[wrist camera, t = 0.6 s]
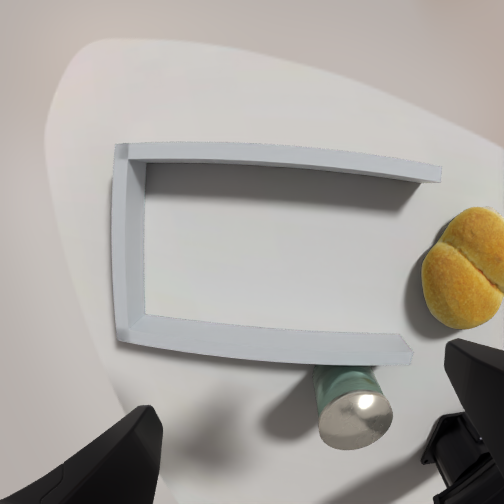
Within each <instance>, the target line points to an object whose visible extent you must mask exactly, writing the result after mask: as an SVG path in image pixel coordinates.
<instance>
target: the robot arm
mask: <svg viewBox="0 0 504 504" xmlns="http://www.w3.org/2000/svg"><path fill="white" fill-rule="evenodd" d="M444 368H445V371H446V373H447V375H448V377H449V379H450V382H451V384H452V386H453V388H454V390H455V392H456V394H457V396H458V398H459V400H460V402H461V404H462V406H463V408H464V410H465V412H460V413H454V414H447V415H444V416H442V417H441V419H440V421H439V423H438V425H437V428H436V430H435V432H434V434H433V436H432V438H431V440H430V442H429V444H428V446H427V448H426V450H425V452H424V454H423V456H422V458H421V463H422V464H423V465H425V464H430V463H435V464H436V466H437V468H438V470H439V472H440V474H441V476H442V479H443V481H444V483H445V485H446V487H447V489H445V490H444V491H443V492H441V493H440V494H437V495H435V496H434V497H433V501H434V504H504V351H503V350H499V349H496V348H492V347H488V346H485V345H481V344H477V343H474V342H470V341H467V340H463V339H459V338H457V339H454V340H452V341H449V342H447V344H446V347H445V360H444ZM162 437H163V426H162V423H161V421H160V419H159V417H158V416H157V414H156V412H155V410H154V408H153V407H152V406H151V405H141V406H138V407H136V408H135V409H134V410H133V411H131V412H130V413H129V414H128V415H126V416H125V417H124V418H122V419H121V420H120V421H118V422H117V423H116V424H115V425H113V426H112V427H111V428H109V429H108V430H107V431H105V432H104V433H103V434H101V435H100V436H99V437H97V438H96V439H95V440H93V441H92V442H91V443H89V444H88V445H87V446H85V447H84V448H83V449H81V450H80V451H79V452H77V453H76V454H75V455H73V456H72V457H70V458H69V459H68V460H66V461H65V462H64V464H61V465H59V466H58V467H57V468H55V469H54V470H52V471H51V472H49V473H48V474H46V475H45V476H43V477H42V478H40V479H38V480H37V481H35V482H33V483H32V484H30V485H28V486H27V487H25V488H23V489H21V490H19V491H17V492H15V493H14V494H12V495H10V496H8V497H6V498H4V499H1V500H0V504H153V500H154V495H155V490H156V485H157V480H158V475H159V470H160V460H161V448H162Z"/></svg>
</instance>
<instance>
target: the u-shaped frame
mask: <svg viewBox="0 0 504 504" xmlns="http://www.w3.org/2000/svg"><path fill="white" fill-rule="evenodd" d="M147 163H215V164H241V165H260V166H275V167H289V168H302V169H313V170H324V171H334V172H343V173H352V174H360V175H368V176H376V177H384V178H391V179H398V180H404V181H411V182H417V183H441V175H442V166H438V165H433V164H427V163H422V162H416V161H411V160H405V159H399V158H393V157H386V156H380V155H373V154H365V153H358V152H350V151H341V150H333V149H323V148H313V147H302V146H289V145H275V144H258V143H235V142H144V143H122V144H115V152H114V166H113V184H112V223H111V239H112V277H113V296H114V310H115V322H116V333H117V340H118V341H123V342H128V343H133V344H139V345H144V346H150V347H156V348H162V349H168V350H175V351H182V352H189V353H196V354H204V355H212V356H220V357H229V358H238V359H248V360H259V361H271V362H285V363H301V364H323V365H410V364H411V360H412V357H413V353H414V352H413V350H412V349H411V348H410V346H409V345H408V344H407V343H406V341H405V340H404V339H403V337H402V336H401V335H400V334H370V333H340V332H319V331H302V330H287V329H274V328H261V327H250V326H239V325H229V324H219V323H210V322H201V321H193V320H185V319H177V318H169V317H162V316H154V315H148V314H145V294H144V206H145V182H146V165H147Z"/></svg>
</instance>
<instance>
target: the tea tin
mask: <svg viewBox="0 0 504 504" xmlns="http://www.w3.org/2000/svg"><path fill="white" fill-rule="evenodd" d="M313 382H314V389H315V395H316V402H317V409H318V415H319V420H318V427H319V433H320V437H321V439H322V440H323V441H324V442H325V443H326V444H327V445H328V446H330V447H332V448H335V449H339V450H354V449H359V448H363V447H365V446H368V445H370V444H372V443H374V442H375V441H377V440H378V439H379V438H381V437H382V436H383V435H384V434H385V433H386V431H387V430H388V428H389V427H390V425H391V422H392V418H393V412H392V408H391V406H390V404H389V402H388V400H387V399H386V397H385V396H384V395H383V393H382V391H381V388H380V386H379V384H378V382H377V380H376V378H375V376H374V374H373V371H372V369H371V367H370V365H323V364H316V366H315V368H314V371H313Z"/></svg>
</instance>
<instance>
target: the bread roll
mask: <svg viewBox="0 0 504 504" xmlns="http://www.w3.org/2000/svg"><path fill="white" fill-rule="evenodd" d="M421 278H422V287H423V294H424V298H425V301H426V304H427V307H428V309H429V311H430V312H431V314H432V315H433V316H434V317H435V318H436V319H437V320H439V321H440V322H441V323H443V324H444V325H446V326H447V327H450V328H454V329H471V328H474V327H477V326H479V325H481V324H483V323H485V322H487V321H488V320H490V319H491V318H492V317H493V316H494V315H495V314H496V312H497V311H498V309H499V307H500V305H501V302H502V299H503V297H504V218H503V217H502V216H501V215H500V214H499V213H498V212H497V211H496V210H495V209H493V208H492V207H472V208H469V209H466V210H464V211H463V212H461V213H460V214H459V215H457V216H456V217H455V218H454V219H453V220H452V221H451V222H450V223H449V225H448V226H447V228H446V230H445V231H444V233H443V235H442V236H441V237H440V239H439V240H438V242H437V243H436V244H435V245H434V246H433V247H432V248H431V250H430V251H429V252H428V254H427V255H426V257H425V259H424V261H423V263H422V269H421Z"/></svg>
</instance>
